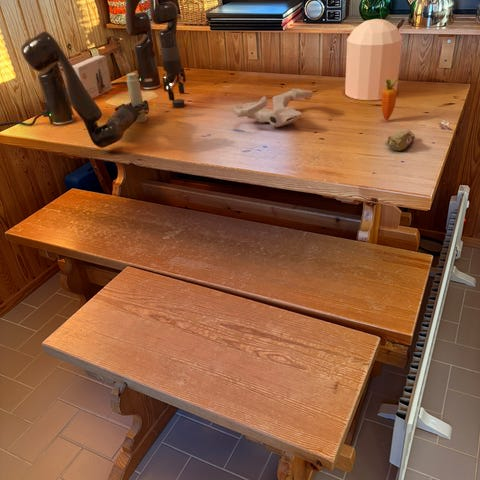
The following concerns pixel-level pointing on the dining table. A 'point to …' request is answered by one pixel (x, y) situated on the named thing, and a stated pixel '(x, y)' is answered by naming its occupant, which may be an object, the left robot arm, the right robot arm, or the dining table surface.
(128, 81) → the jar
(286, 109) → the beige irregular branched piece
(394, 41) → the container
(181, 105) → the lid
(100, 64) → the skincare box
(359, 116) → the dining table surface
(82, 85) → the left robot arm
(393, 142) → the rock
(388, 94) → the carrot
